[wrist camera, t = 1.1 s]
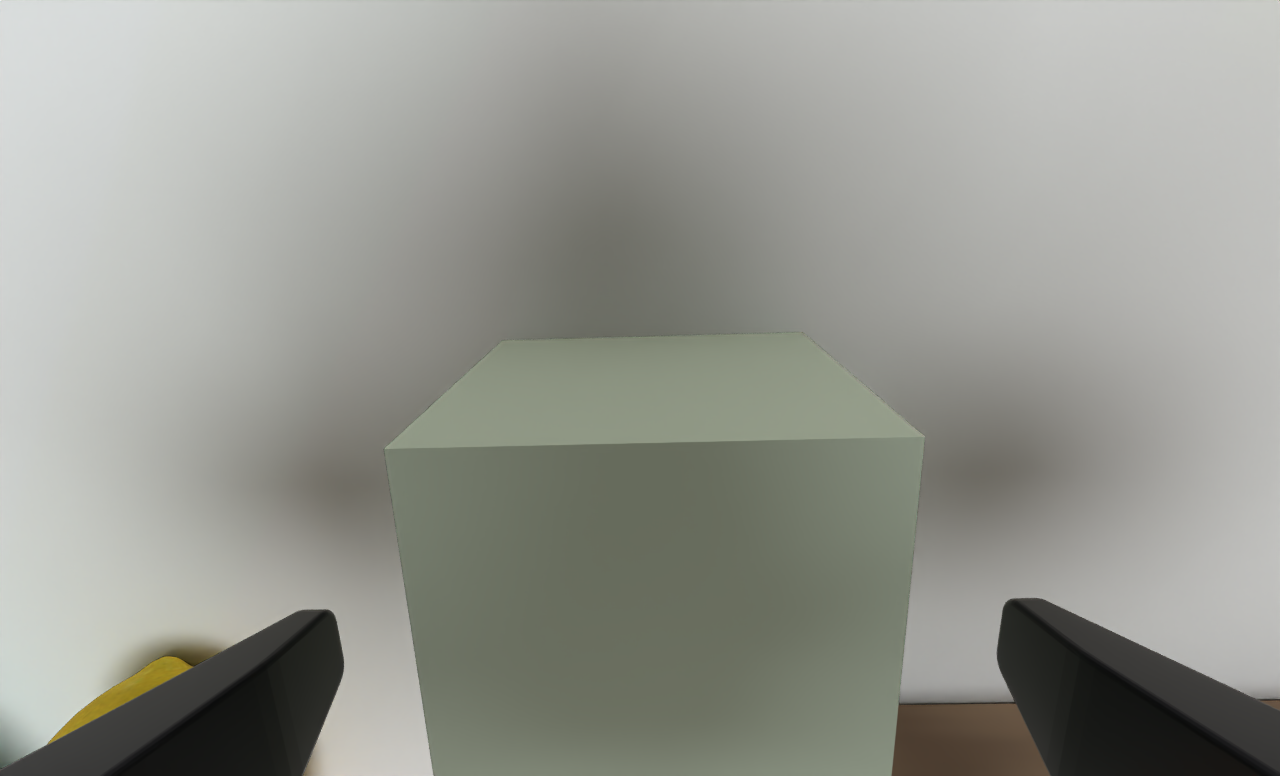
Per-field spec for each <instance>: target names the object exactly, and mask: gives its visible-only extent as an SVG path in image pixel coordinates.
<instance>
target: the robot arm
mask: <svg viewBox="0 0 1280 776" xmlns="http://www.w3.org/2000/svg"><path fill="white" fill-rule="evenodd" d="M997 660H998V665H999V668H1000V671H1001V673H1002V676H1003V678H1004V680H1005V682H1006V684H1007V686H1008V688H1009V690H1010V692H1011V695H1012V697H1013V699H1014V701H1015V703H1016V705H1017V707H1018V709H1019V711H1020V713H1021V716H1022V718H1023V720H1024V722H1025V724H1026V726H1027V728H1028V730H1029V732H1030V735H1031V737H1032V739H1033V741H1034V743H1035V745H1036V747H1037V749H1038V751H1039V754H1040V756H1041V758H1042V760H1043V762H1044V764H1045V766H1046V768H1047V770H1048V772H1049V774H1050V776H1280V710H1278V709H1276V708H1274V707H1272V706H1269V705H1267V704H1265V703H1263V702H1261V701H1259V700H1257V699H1255V698H1252V697H1250V696H1248V695H1246V694H1244V693H1242V692H1240V691H1237V690H1235V689H1233V688H1231V687H1229V686H1227V685H1225V684H1223V683H1220V682H1218V681H1216V680H1214V679H1212V678H1210V677H1208V676H1206V675H1203V674H1201V673H1199V672H1197V671H1195V670H1193V669H1191V668H1188V667H1186V666H1184V665H1182V664H1180V663H1178V662H1176V661H1174V660H1171V659H1169V658H1167V657H1165V656H1163V655H1161V654H1159V653H1157V652H1154V651H1152V650H1150V649H1148V648H1146V647H1144V646H1142V645H1139V644H1137V643H1135V642H1133V641H1131V640H1129V639H1127V638H1125V637H1122V636H1120V635H1118V634H1116V633H1114V632H1112V631H1110V630H1108V629H1105V628H1103V627H1101V626H1099V625H1097V624H1095V623H1093V622H1090V621H1088V620H1086V619H1084V618H1082V617H1080V616H1078V615H1076V614H1073V613H1071V612H1069V611H1067V610H1065V609H1063V608H1061V607H1059V606H1056V605H1054V604H1052V603H1050V602H1048V601H1046V600H1043V599H1039V598H1016V599H1010V600H1008V601H1007V602H1006V603H1005V605H1004V607H1003V612H1002V619H1001V625H1000V632H999V639H998V646H997ZM343 671H344V657H343V652H342V647H341V642H340V636H339V631H338V626H337V621H336V618H335V615H334V614H333V612H331V611H330V610H327V609H325V610H300V611H297V612H295V613H293V614H292V615H290V616H288V617H286V618H284V619H282V620H280V621H278V622H277V623H275V624H273V625H271V626H269V627H267V628H265V629H263V630H262V631H260V632H258V633H256V634H254V635H252V636H250V637H248V638H247V639H245V640H243V641H241V642H239V643H237V644H235V645H233V646H232V647H230V648H228V649H226V650H224V651H222V652H220V653H218V654H217V655H215V656H213V657H211V658H209V659H207V660H205V661H203V662H201V663H200V664H198V665H196V666H194V667H192V668H190V669H188V670H186V671H185V672H183V673H181V674H179V675H177V676H175V677H173V678H171V679H170V680H168V681H166V682H164V683H162V684H160V685H158V686H156V687H155V688H153V689H151V690H149V691H147V692H145V693H143V694H141V695H140V696H138V697H136V698H134V699H132V700H130V701H128V702H126V703H125V704H123V705H121V706H119V707H117V708H115V709H113V710H111V711H109V712H108V713H106V714H104V715H102V716H100V717H98V718H96V719H94V720H93V721H91V722H89V723H87V724H85V725H83V726H81V727H79V728H78V729H76V730H74V731H72V732H70V733H68V734H66V735H64V736H63V737H61V738H59V739H57V740H55V741H53V742H51V743H49V744H48V745H46V746H44V747H42V748H40V749H38V750H36V751H34V752H33V753H31V754H29V755H27V756H25V757H23V758H21V759H19V760H17V761H16V762H14V763H12V764H10V765H8V766H6V767H4V768H2V769H1V770H0V776H303V774H304V772H305V769H306V767H307V764H308V762H309V759H310V757H311V754H312V752H313V749H314V747H315V744H316V742H317V739H318V737H319V734H320V732H321V729H322V727H323V724H324V722H325V719H326V717H327V715H328V712H329V710H330V707H331V705H332V702H333V700H334V697H335V695H336V692H337V690H338V687H339V685H340V682H341V679H342V676H343Z"/></svg>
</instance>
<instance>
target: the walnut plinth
mask: <svg viewBox="0 0 1280 776" xmlns="http://www.w3.org/2000/svg"><path fill="white" fill-rule="evenodd" d="M1261 702H1263V703H1265V704H1267V705H1269V706H1272V707H1274V708H1276V709H1278V710H1280V700H1272V701H1261ZM892 776H1050V774H1049V772H1048V770H1047V768H1046V766H1045V764H1044V762H1043V760H1042V758H1041V756H1040V754H1039V751H1038V749H1037V747H1036V745H1035V743H1034V741H1033V739H1032V737H1031V735H1030V732H1029V730H1028V728H1027V726H1026V724H1025V722H1024V720H1023V718H1022V716H1021V713H1020V711H1019V709H1018V707H1017V705H1016V704H937V705H898V715H897V725H896V735H895V746H894V756H893V766H892Z"/></svg>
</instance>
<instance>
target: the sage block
mask: <svg viewBox="0 0 1280 776" xmlns="http://www.w3.org/2000/svg"><path fill="white" fill-rule="evenodd" d="M924 442H925V436H924V435H922V434H921V433H920V432H919V431H918V430H917V429H915V428H914V427H913V426H912V425H911V424H910V423H908V422H907V421H906V420H905V419H904V418H902V417H901V416H900V415H899V414H898V413H897V412H895V411H894V410H893V409H892V408H891V407H890V406H888V405H887V404H886V403H885V402H884V401H883V400H881V399H880V398H879V397H878V396H877V395H876V394H874V393H873V392H872V391H871V390H870V389H869V388H867V387H866V386H865V385H864V384H863V383H862V382H860V381H859V380H858V379H857V378H856V377H855V376H853V375H852V374H851V373H850V372H849V371H848V370H846V369H845V368H844V367H843V366H842V365H841V364H839V363H838V362H837V361H836V360H835V359H833V358H832V357H831V356H830V355H829V354H828V353H826V352H825V351H824V350H823V349H822V348H821V347H819V346H818V345H817V344H816V343H815V342H814V341H812V340H811V339H810V338H809V337H808V336H807V335H805V334H804V333H803V332H786V333H749V334H712V335H675V336H638V337H601V338H565V339H528V340H502V341H501V342H500V343H499V344H498V345H497V346H496V347H495V348H494V349H492V350H491V351H490V352H489V353H488V354H487V355H486V356H485V357H484V358H483V359H481V360H480V361H479V362H478V363H477V364H476V365H475V366H474V367H473V368H472V369H471V370H469V371H468V372H467V373H466V374H465V375H464V376H463V377H462V378H461V379H460V380H459V381H457V382H456V383H455V384H454V385H453V386H452V387H451V388H450V389H449V390H448V391H447V392H445V393H444V394H443V395H442V396H441V397H440V398H439V399H438V400H437V401H436V402H434V403H433V404H432V405H431V406H430V407H429V408H428V409H427V410H426V411H425V412H424V413H422V414H421V415H420V416H419V417H418V418H417V419H416V420H415V421H414V422H413V423H412V424H410V425H409V426H408V427H407V428H406V429H405V430H404V431H403V432H402V433H401V434H399V435H398V436H397V437H396V438H395V439H394V440H393V441H392V442H391V443H390V444H389V445H387V446H386V447H385V448H384V455H385V461H386V468H387V474H388V481H389V487H390V494H391V500H392V507H393V513H394V520H395V527H396V533H397V540H398V546H399V553H400V559H401V566H402V572H403V579H404V585H405V592H406V599H407V605H408V612H409V618H410V625H411V631H412V638H413V644H414V651H415V657H416V664H417V671H418V677H419V684H420V690H421V697H422V703H423V710H424V716H425V723H426V729H427V736H428V743H429V749H430V756H431V762H432V769H433V775H434V776H892V766H893V756H894V746H895V735H896V725H897V715H898V705H899V695H900V685H901V675H902V665H903V654H904V644H905V634H906V624H907V614H908V604H909V594H910V584H911V574H912V563H913V553H914V543H915V533H916V523H917V513H918V503H919V493H920V482H921V472H922V462H923V452H924Z"/></svg>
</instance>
